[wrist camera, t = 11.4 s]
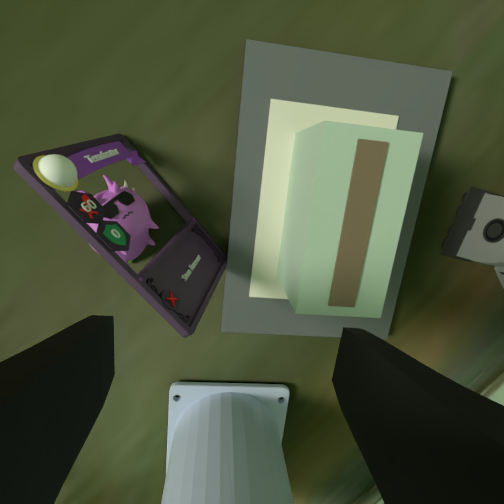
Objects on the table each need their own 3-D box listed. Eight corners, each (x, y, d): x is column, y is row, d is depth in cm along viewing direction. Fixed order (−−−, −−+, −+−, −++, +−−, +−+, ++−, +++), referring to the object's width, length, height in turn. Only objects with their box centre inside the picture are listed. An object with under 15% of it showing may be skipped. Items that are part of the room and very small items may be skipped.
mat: (382, 334, 21) (387, 340, 21) (221, 326, 20) (221, 332, 19) (444, 74, 17) (454, 71, 16) (245, 44, 16) (246, 38, 15)
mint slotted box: (366, 141, 17) (424, 132, 12) (340, 279, 19) (381, 319, 14) (294, 133, 16) (326, 120, 12) (276, 275, 19) (296, 314, 14)
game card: (204, 329, 13) (24, 144, 10) (126, 372, 15) (-38, 226, 12) (239, 253, 18) (130, 123, 16) (179, 291, 21) (75, 182, 18)
